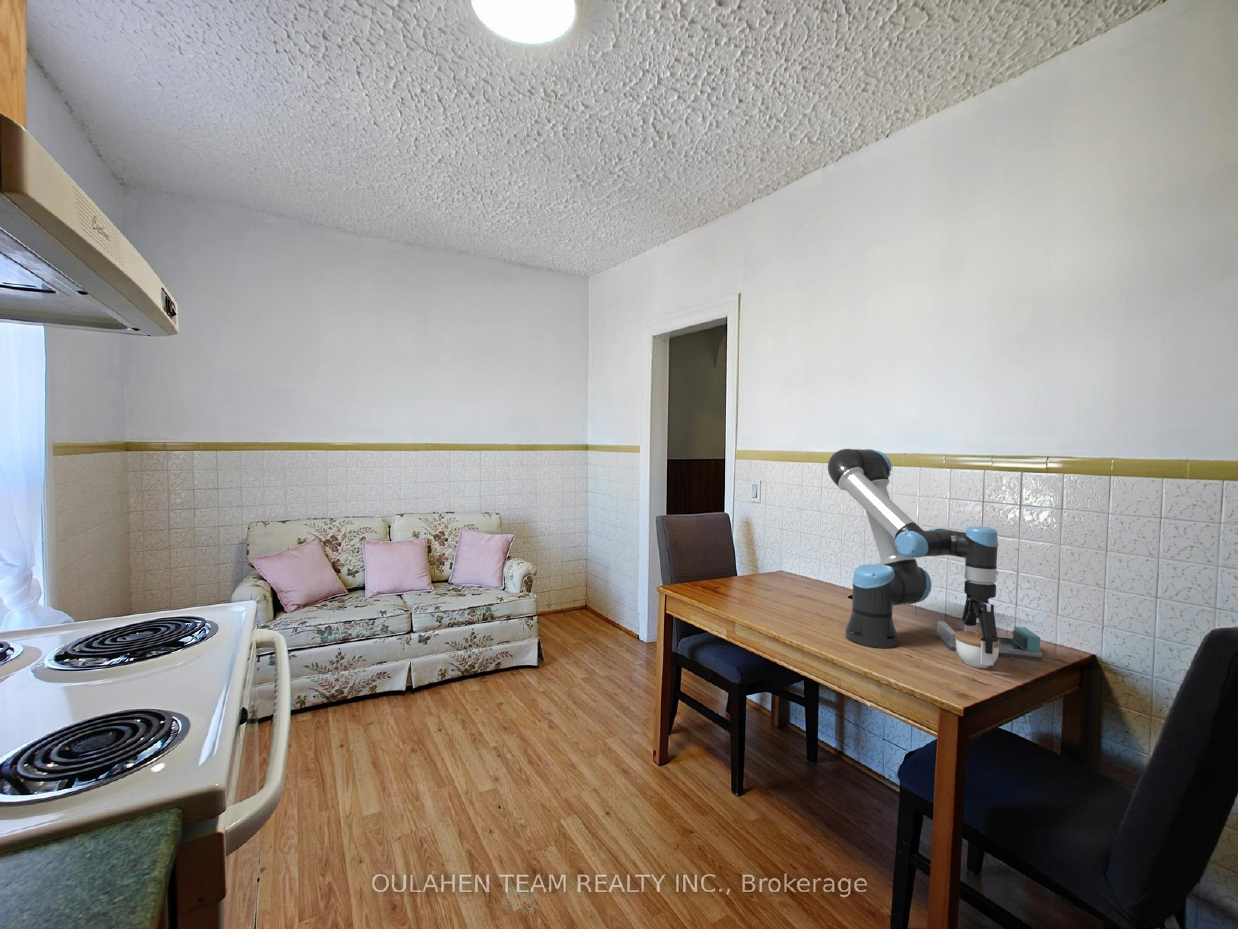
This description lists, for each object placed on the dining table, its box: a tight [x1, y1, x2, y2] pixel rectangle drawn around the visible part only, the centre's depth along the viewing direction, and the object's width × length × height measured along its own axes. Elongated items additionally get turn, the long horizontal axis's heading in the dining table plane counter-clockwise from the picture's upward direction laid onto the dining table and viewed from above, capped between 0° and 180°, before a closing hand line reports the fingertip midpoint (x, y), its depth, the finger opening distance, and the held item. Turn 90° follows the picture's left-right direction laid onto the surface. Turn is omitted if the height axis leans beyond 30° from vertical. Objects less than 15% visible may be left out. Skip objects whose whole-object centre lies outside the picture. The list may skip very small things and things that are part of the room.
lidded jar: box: [955, 630, 1000, 669], centre depth 155 cm, size 11×11×9 cm
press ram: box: [1012, 625, 1041, 652], centre depth 166 cm, size 4×10×5 cm, turn 164°
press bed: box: [936, 620, 1043, 661], centre depth 169 cm, size 24×13×5 cm, turn 74°
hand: (977, 655), depth 155 cm, fingers open, 13 cm apart
